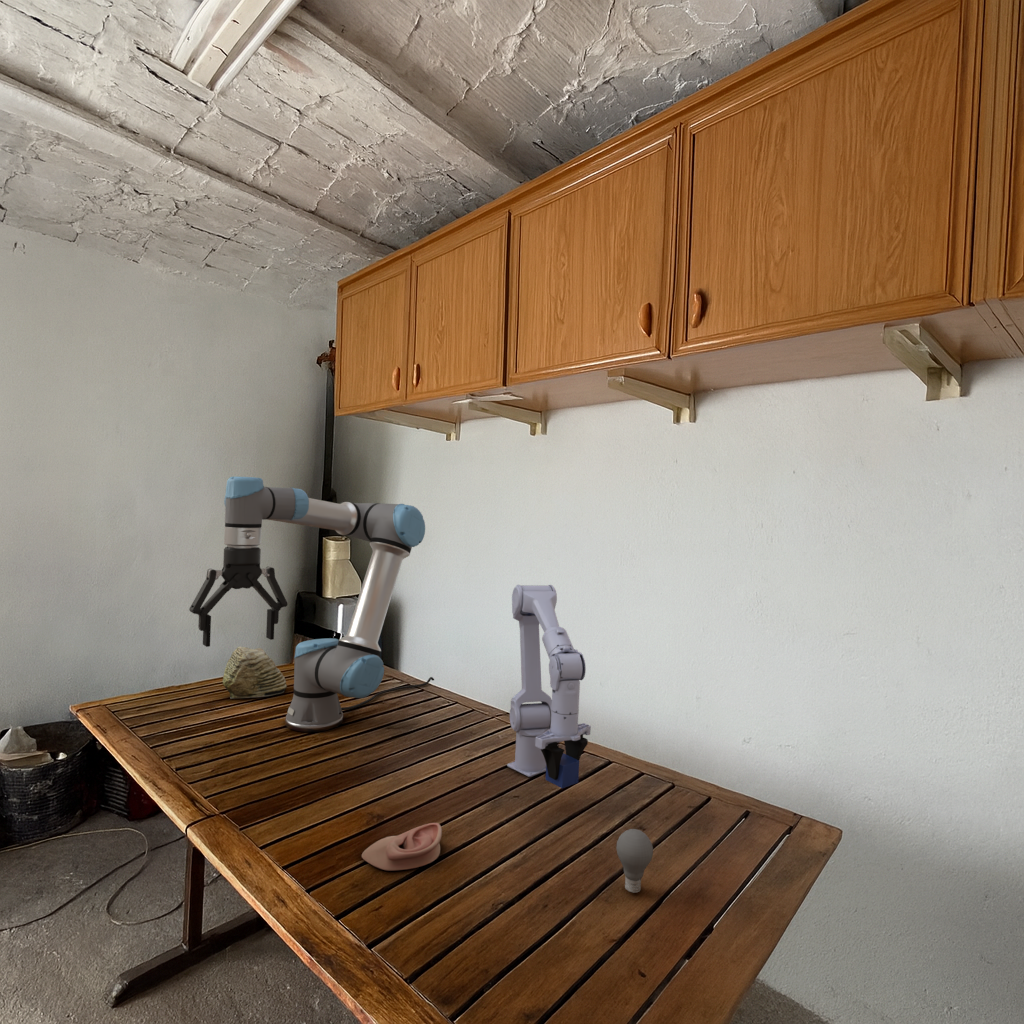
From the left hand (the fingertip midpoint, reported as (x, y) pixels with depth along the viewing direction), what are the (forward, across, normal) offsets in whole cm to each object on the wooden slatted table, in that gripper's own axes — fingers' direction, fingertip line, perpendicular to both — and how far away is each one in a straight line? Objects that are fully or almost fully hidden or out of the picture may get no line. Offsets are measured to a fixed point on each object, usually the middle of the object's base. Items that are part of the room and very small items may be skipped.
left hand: (239, 642), depth 141 cm
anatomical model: (+30, +14, -48) cm, 59 cm away
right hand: (+23, +49, -53) cm, 76 cm away
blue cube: (+24, +49, -53) cm, 77 cm away
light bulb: (+30, +39, -80) cm, 94 cm away
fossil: (+30, +23, +55) cm, 67 cm away
